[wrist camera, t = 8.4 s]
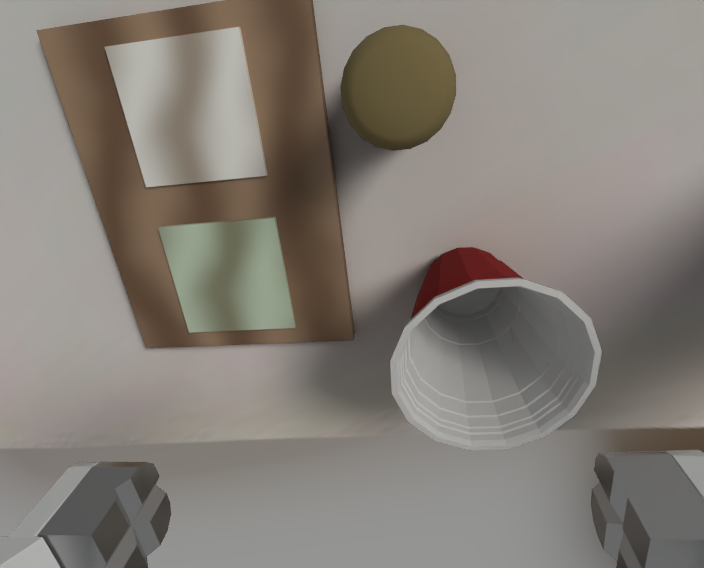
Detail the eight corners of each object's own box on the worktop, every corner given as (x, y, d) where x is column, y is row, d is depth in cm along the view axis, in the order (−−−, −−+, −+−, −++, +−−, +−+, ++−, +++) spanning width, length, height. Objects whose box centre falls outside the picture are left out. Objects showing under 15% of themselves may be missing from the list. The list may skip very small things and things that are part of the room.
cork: (352, 134, 30) (324, 160, 21) (356, 31, 28) (327, 5, 18) (442, 139, 30) (459, 169, 20) (455, 36, 27) (481, 11, 17)
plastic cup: (519, 354, 36) (568, 473, 25) (385, 332, 37) (375, 439, 26) (562, 224, 31) (644, 300, 20) (407, 202, 32) (407, 265, 21)
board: (311, -10, 27) (306, -14, 26) (354, 333, 37) (353, 342, 36) (47, 31, 30) (33, 29, 29) (152, 341, 40) (144, 350, 38)
